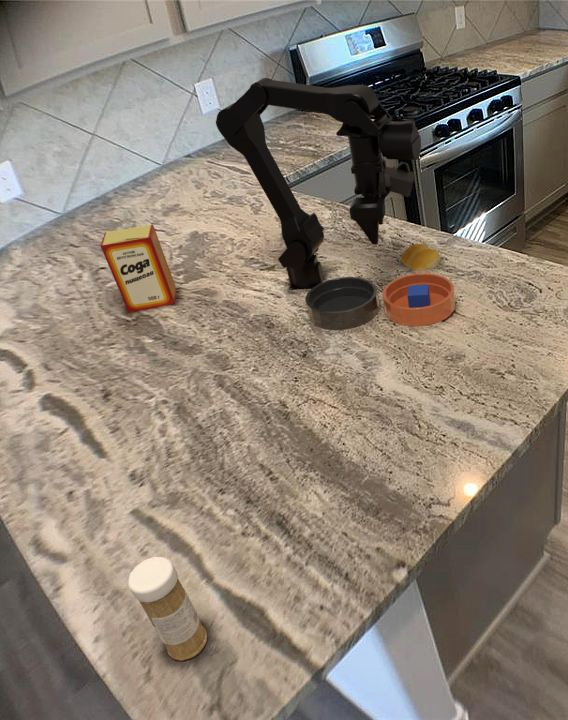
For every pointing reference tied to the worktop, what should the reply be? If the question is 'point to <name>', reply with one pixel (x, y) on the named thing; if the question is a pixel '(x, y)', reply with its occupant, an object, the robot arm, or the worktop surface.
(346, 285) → the charcoal bowl
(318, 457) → the worktop surface
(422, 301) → the blue block
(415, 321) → the terracotta bowl
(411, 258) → the bread roll
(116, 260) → the baking soda box
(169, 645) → the sprinkles bottle
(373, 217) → the robot arm
